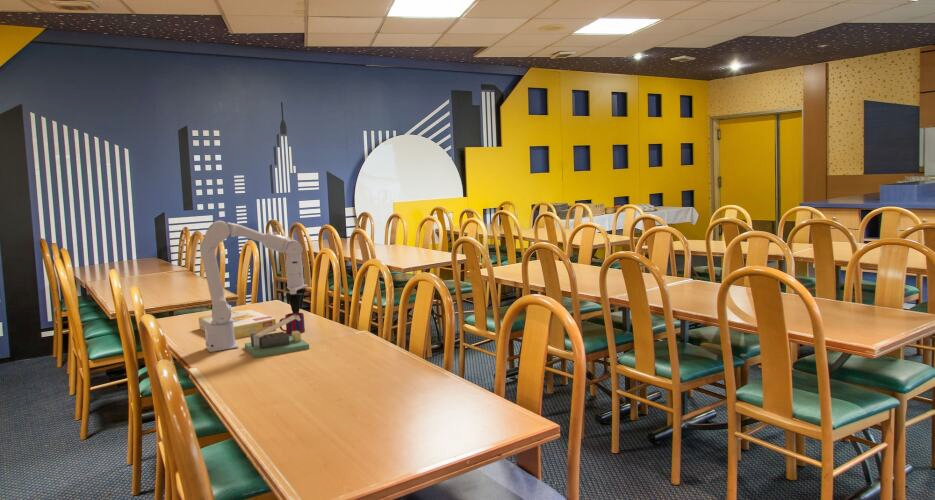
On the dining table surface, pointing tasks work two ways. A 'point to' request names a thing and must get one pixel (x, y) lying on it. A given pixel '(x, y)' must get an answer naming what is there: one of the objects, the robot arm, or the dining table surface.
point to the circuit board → (277, 348)
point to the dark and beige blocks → (273, 339)
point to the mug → (294, 324)
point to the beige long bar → (278, 325)
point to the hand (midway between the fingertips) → (297, 310)
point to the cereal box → (244, 322)
